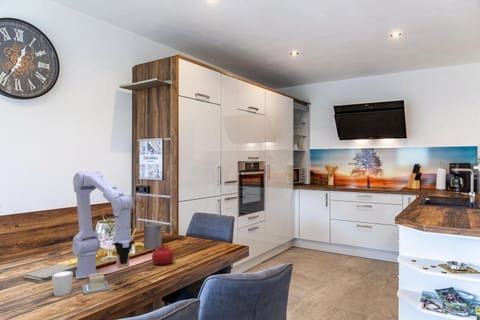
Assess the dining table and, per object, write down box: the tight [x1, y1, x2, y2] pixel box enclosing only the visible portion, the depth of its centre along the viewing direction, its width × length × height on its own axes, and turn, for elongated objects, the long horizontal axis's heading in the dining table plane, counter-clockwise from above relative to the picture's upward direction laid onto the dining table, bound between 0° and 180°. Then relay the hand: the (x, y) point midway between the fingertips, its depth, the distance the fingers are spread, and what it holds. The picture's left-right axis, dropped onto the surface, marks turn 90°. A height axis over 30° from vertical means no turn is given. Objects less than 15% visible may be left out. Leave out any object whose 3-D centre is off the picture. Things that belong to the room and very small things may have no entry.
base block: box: [88, 272, 105, 290], centre depth 123 cm, size 5×5×4 cm
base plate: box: [81, 280, 111, 296], centre depth 123 cm, size 10×9×1 cm
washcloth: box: [23, 263, 77, 284], centre depth 138 cm, size 12×18×3 cm, turn 156°
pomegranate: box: [151, 244, 174, 266], centre depth 154 cm, size 10×10×9 cm
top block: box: [115, 254, 130, 269], centre depth 124 cm, size 4×4×4 cm
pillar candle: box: [143, 222, 163, 250], centre depth 182 cm, size 10×10×15 cm
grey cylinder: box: [51, 271, 74, 297], centre depth 118 cm, size 7×7×7 cm
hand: (122, 262), depth 124 cm, fingers closed on top block, 4 cm apart
